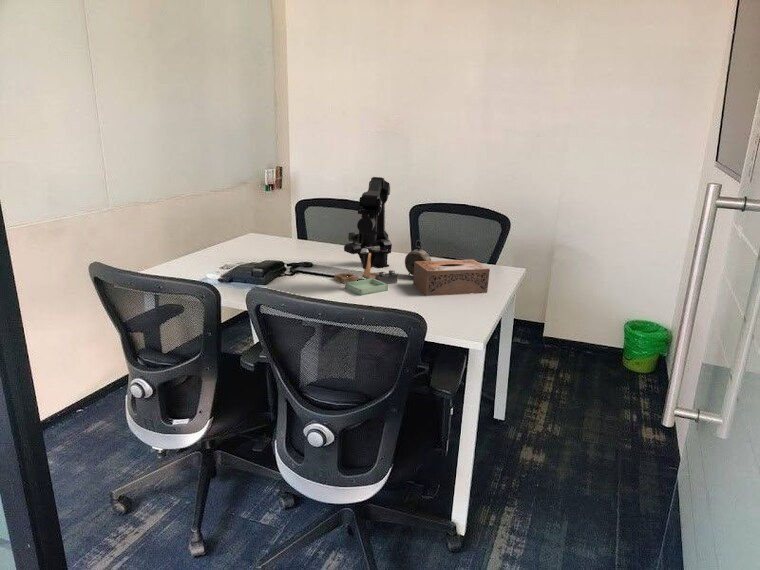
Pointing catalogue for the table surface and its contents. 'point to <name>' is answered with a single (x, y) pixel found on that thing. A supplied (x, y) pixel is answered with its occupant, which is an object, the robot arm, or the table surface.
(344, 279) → the socket block
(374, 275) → the tan rectangular slab
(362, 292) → the tray
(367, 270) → the dowel
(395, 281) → the grey boxy piece
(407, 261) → the alarm clock
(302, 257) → the table surface
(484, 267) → the tissue box cover
